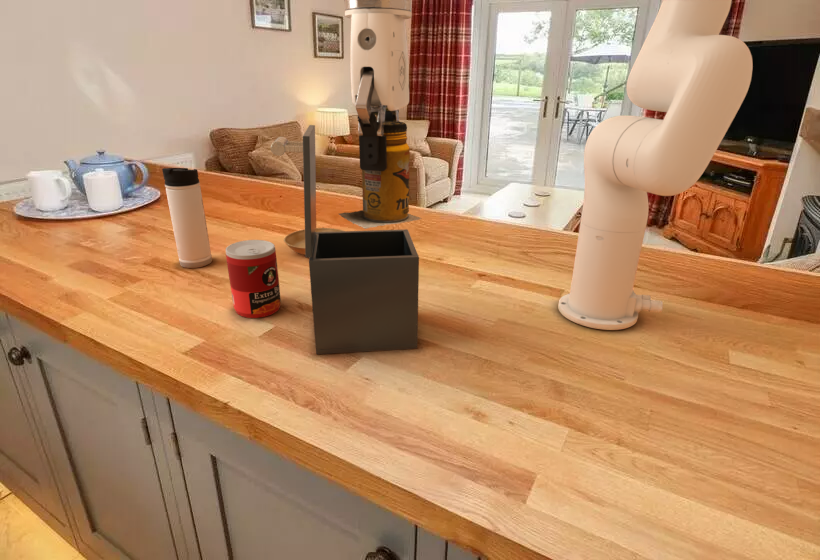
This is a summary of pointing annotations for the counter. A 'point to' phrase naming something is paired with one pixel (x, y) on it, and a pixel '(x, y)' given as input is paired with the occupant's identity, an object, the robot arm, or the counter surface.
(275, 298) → the canned food
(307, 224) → the lid
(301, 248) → the plant saucer
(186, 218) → the travel mug
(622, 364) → the counter surface
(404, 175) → the condiment
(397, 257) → the bin
